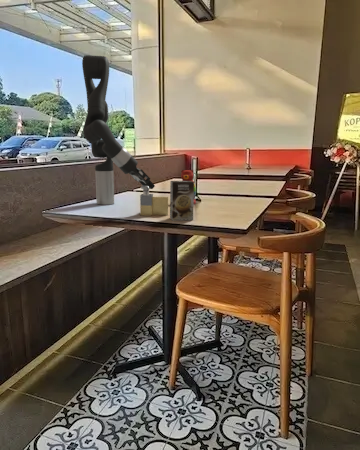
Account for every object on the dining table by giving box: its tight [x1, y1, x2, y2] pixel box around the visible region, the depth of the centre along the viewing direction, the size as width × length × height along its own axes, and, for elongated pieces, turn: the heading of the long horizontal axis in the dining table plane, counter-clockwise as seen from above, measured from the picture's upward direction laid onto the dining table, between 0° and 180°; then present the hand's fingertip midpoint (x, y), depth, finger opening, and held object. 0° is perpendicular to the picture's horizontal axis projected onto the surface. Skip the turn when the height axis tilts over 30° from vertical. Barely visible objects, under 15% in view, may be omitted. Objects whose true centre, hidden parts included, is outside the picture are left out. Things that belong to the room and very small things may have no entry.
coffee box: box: [169, 180, 195, 222], centre depth 153 cm, size 9×6×16 cm
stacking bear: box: [180, 169, 197, 205], centre depth 198 cm, size 11×10×18 cm
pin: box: [140, 185, 151, 195], centre depth 163 cm, size 5×5×12 cm
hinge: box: [139, 193, 169, 217], centre depth 167 cm, size 12×12×9 cm
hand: (149, 186), depth 163 cm, fingers open, 7 cm apart
